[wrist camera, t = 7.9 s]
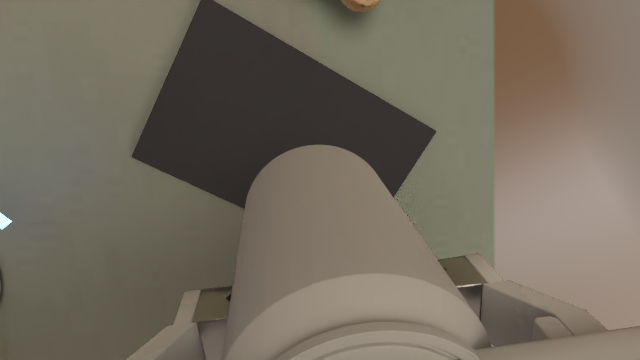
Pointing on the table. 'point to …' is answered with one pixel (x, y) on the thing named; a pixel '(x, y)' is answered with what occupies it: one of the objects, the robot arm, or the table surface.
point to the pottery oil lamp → (360, 4)
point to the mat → (264, 111)
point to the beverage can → (339, 271)
